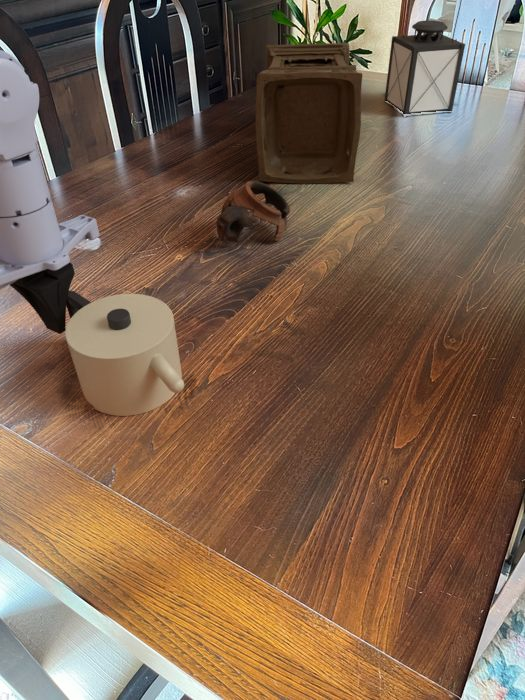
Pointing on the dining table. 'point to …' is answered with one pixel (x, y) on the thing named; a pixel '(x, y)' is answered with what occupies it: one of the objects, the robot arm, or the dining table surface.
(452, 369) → the dining table surface
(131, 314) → the kettle
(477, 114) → the dining table surface
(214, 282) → the dining table surface
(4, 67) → the robot arm
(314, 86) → the ornamental box
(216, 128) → the dining table surface
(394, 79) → the lantern
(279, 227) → the brown hollow curved piece
